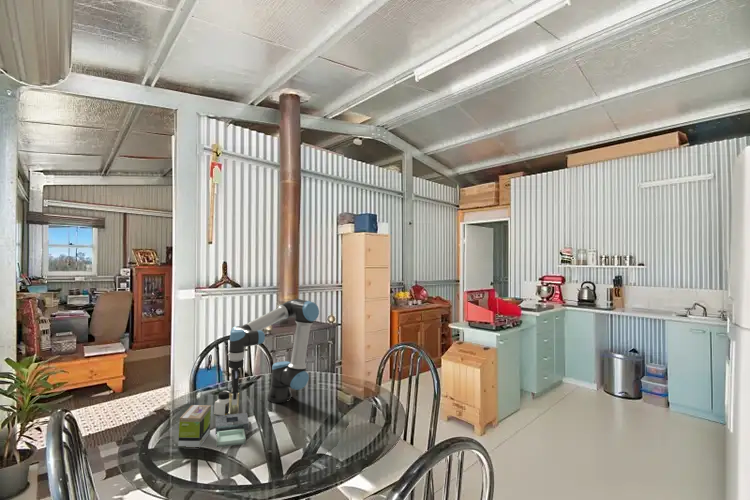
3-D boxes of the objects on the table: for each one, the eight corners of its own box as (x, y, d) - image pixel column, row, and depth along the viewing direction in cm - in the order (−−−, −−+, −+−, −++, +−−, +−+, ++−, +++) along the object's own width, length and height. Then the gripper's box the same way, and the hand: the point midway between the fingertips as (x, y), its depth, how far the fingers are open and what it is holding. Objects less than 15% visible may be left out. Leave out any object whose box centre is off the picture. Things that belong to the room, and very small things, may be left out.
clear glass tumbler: (238, 409, 205) (239, 391, 205) (239, 413, 200) (240, 395, 200) (227, 410, 203) (228, 392, 203) (228, 415, 198) (229, 396, 198)
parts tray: (243, 433, 195) (244, 428, 195) (245, 443, 185) (245, 438, 185) (216, 436, 190) (216, 431, 190) (216, 447, 180) (217, 442, 180)
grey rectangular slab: (246, 419, 210) (247, 412, 210) (248, 430, 198) (248, 423, 198) (215, 423, 204) (216, 415, 204) (215, 434, 192) (216, 426, 192)
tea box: (190, 432, 192) (192, 404, 192) (210, 433, 193) (212, 404, 193) (177, 448, 177) (179, 417, 177) (199, 449, 178) (201, 417, 178)
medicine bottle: (224, 416, 213) (226, 395, 213) (213, 414, 214) (215, 393, 214) (232, 411, 220) (233, 390, 220) (221, 409, 221) (222, 388, 221)
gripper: (228, 354, 208) (226, 396, 208) (229, 365, 191) (226, 410, 191) (242, 353, 211) (240, 395, 211) (244, 364, 194) (242, 408, 194)
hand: (234, 402), depth 201 cm, fingers closed on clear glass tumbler, 5 cm apart
